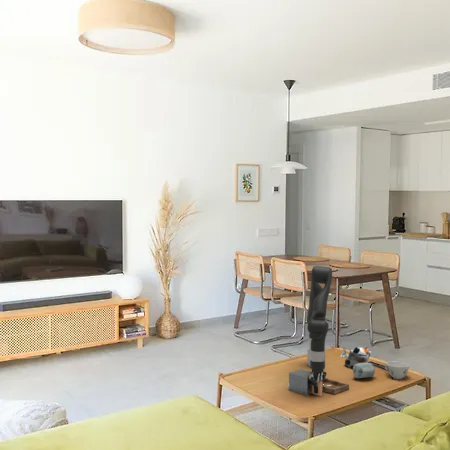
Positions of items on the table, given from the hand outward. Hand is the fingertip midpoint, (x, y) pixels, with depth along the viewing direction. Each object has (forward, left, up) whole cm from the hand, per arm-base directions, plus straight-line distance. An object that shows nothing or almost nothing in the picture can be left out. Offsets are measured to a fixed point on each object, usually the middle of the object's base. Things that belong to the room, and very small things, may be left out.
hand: (317, 392), depth 279 cm
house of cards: (-28, +69, -2) cm, 74 cm away
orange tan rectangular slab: (-2, 0, -1) cm, 3 cm away
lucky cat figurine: (-13, +57, -1) cm, 58 cm away
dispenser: (-9, 0, -1) cm, 9 cm away
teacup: (+12, +57, -1) cm, 58 cm away
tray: (-2, +13, -1) cm, 13 cm away
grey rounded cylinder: (+1, +39, -1) cm, 39 cm away
